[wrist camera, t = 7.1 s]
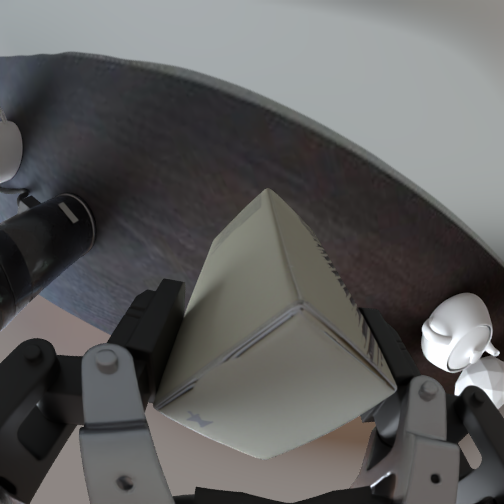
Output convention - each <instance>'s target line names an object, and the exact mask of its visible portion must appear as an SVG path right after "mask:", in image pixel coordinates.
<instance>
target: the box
mask: <svg viewBox="0 0 504 504" xmlns="http://www.w3.org/2000/svg"><path fill="white" fill-rule="evenodd" d="M396 390H397V385H396V383H395V381H394V379H393V376H392V374H391V372H390V370H389V368H388V365H387V363H386V361H385V359H384V357H383V355H382V353H381V350H380V348H379V346H378V344H377V342H376V340H375V338H374V337H373V335H372V333H371V331H370V329H369V327H368V325H367V324H366V321H365V319H364V318H363V316H362V314H361V312H360V311H359V309H358V307H357V305H356V304H355V302H354V300H353V298H352V296H351V295H350V293H349V291H348V289H347V288H346V286H345V285H344V283H343V281H342V279H341V278H340V276H339V274H338V272H337V271H336V269H335V268H334V266H333V264H332V262H331V261H330V259H329V257H328V255H327V254H326V252H325V250H324V249H323V247H322V245H321V244H320V242H319V241H318V239H317V237H316V236H315V234H314V232H313V231H312V230H311V229H310V228H309V227H308V226H307V225H306V223H305V222H304V221H303V220H302V219H301V218H300V217H299V216H298V215H297V214H296V213H295V212H294V211H293V210H292V209H291V207H290V206H289V205H287V204H286V203H285V202H284V201H283V200H282V199H281V198H280V197H279V196H278V195H277V194H276V193H275V192H273V191H272V190H271V189H269V188H267V189H265V190H264V191H263V192H262V193H260V194H259V195H258V196H257V197H256V198H255V199H254V200H253V201H252V202H251V203H249V204H248V205H247V206H246V207H245V208H244V209H243V210H242V211H241V212H240V213H239V214H238V215H237V216H236V217H235V218H234V219H233V220H232V221H231V222H230V223H229V224H228V225H227V226H226V228H225V229H224V230H223V231H222V232H221V233H220V234H219V235H218V236H217V237H216V238H215V239H214V240H213V242H212V245H211V248H210V250H209V253H208V256H207V258H206V261H205V263H204V266H203V268H202V271H201V273H200V276H199V278H198V281H197V283H196V286H195V288H194V291H193V294H192V296H191V299H190V301H189V304H188V306H187V309H186V312H185V314H184V318H183V321H182V323H181V326H180V329H179V331H178V334H177V337H176V340H175V342H174V345H173V348H172V350H171V353H170V356H169V359H168V362H167V364H166V367H165V370H164V373H163V376H162V379H161V382H160V385H159V388H158V391H157V394H156V397H155V400H154V403H153V407H154V408H155V409H156V410H157V411H159V412H160V413H161V414H163V415H165V416H166V417H168V418H170V419H172V420H173V421H176V422H178V423H179V424H182V425H183V426H185V427H187V428H189V429H191V430H193V431H195V432H197V433H200V434H201V435H203V436H205V437H208V438H210V439H212V440H214V441H217V442H219V443H221V444H223V445H226V446H229V447H231V448H233V449H236V450H238V451H240V452H243V453H246V454H248V455H251V456H253V457H256V458H259V459H263V460H267V459H270V458H273V457H276V456H278V455H280V454H283V453H285V452H288V451H290V450H293V449H295V448H297V447H299V446H302V445H304V444H306V443H309V442H311V441H313V440H315V439H317V438H319V437H321V436H323V435H325V434H327V433H329V432H331V431H333V430H335V429H337V428H339V427H341V426H343V425H344V424H346V423H348V422H349V421H351V420H353V419H355V418H356V417H358V416H359V415H361V414H363V413H365V412H366V411H368V410H369V409H371V408H373V407H374V406H376V405H377V404H379V403H380V402H382V401H383V400H384V399H386V398H388V397H389V396H391V395H392V394H394V393H395V391H396Z"/></svg>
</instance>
